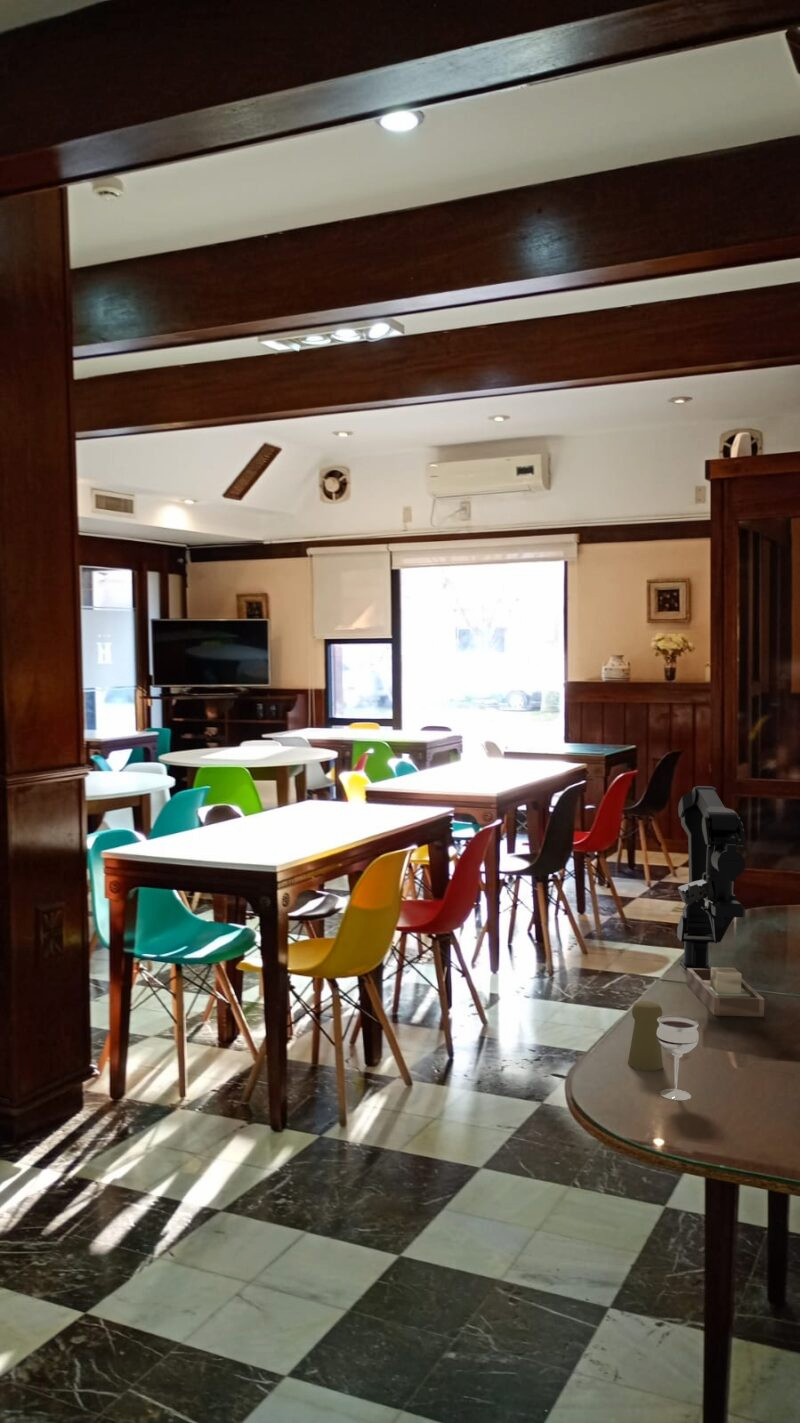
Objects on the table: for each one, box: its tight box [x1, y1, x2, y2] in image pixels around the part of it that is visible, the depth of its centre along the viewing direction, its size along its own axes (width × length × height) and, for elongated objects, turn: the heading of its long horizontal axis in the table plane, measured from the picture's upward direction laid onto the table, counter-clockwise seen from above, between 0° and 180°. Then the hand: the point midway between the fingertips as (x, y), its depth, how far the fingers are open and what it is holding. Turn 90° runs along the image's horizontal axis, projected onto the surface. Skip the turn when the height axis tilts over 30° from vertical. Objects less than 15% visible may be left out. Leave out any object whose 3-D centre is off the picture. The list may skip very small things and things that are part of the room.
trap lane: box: [685, 968, 765, 1017], centre depth 243 cm, size 23×10×4 cm, turn 0°
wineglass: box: [656, 1015, 700, 1101], centre depth 188 cm, size 7×7×12 cm
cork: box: [627, 1000, 664, 1072], centre depth 202 cm, size 6×6×11 cm
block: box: [710, 966, 743, 993], centre depth 242 cm, size 5×5×4 cm
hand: (717, 941), depth 249 cm, fingers closed
